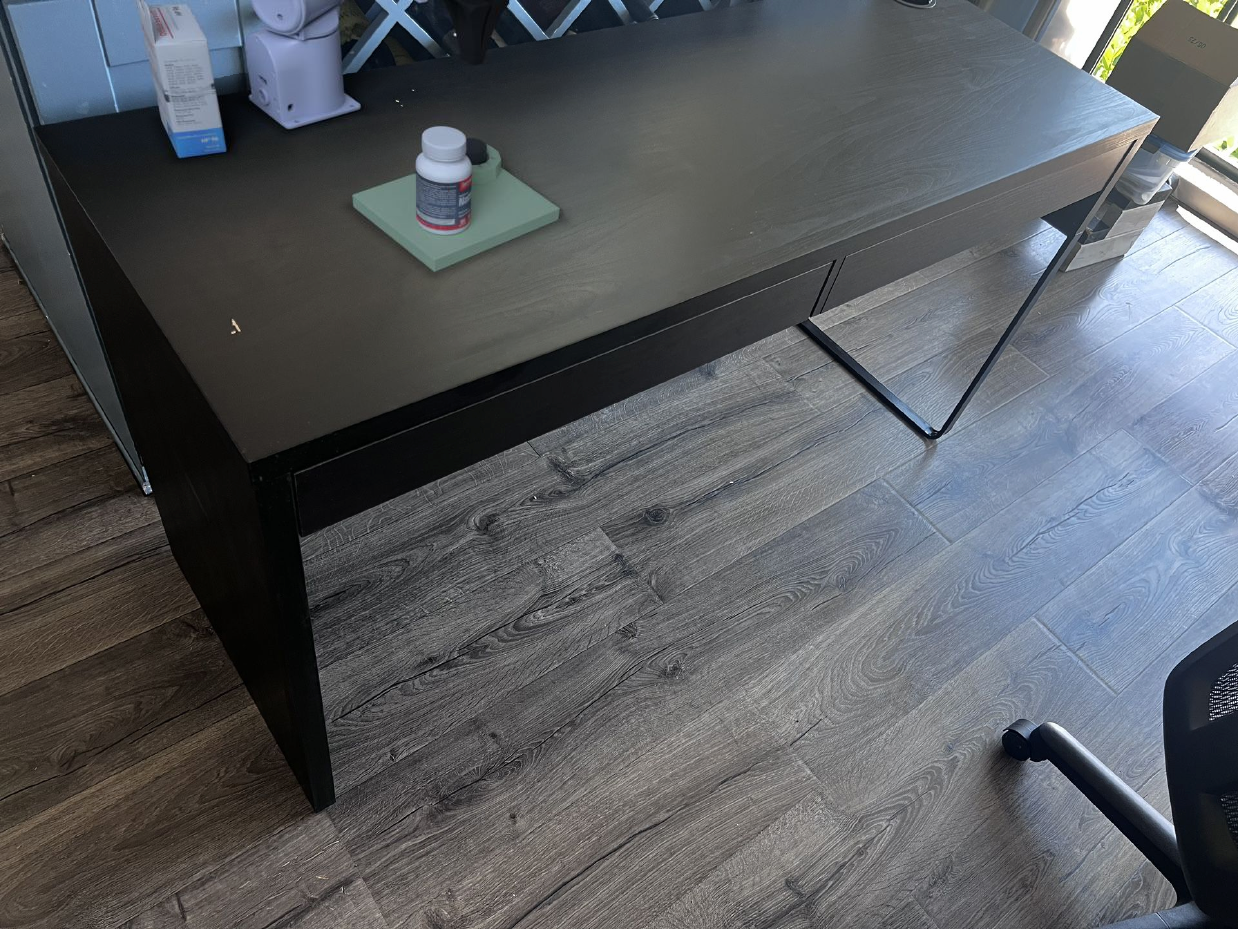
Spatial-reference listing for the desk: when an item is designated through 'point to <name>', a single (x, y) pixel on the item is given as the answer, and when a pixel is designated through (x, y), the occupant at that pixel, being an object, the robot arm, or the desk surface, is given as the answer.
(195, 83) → the ink box
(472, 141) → the button
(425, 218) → the pill bottle
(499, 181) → the green flat slab
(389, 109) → the desk surface
